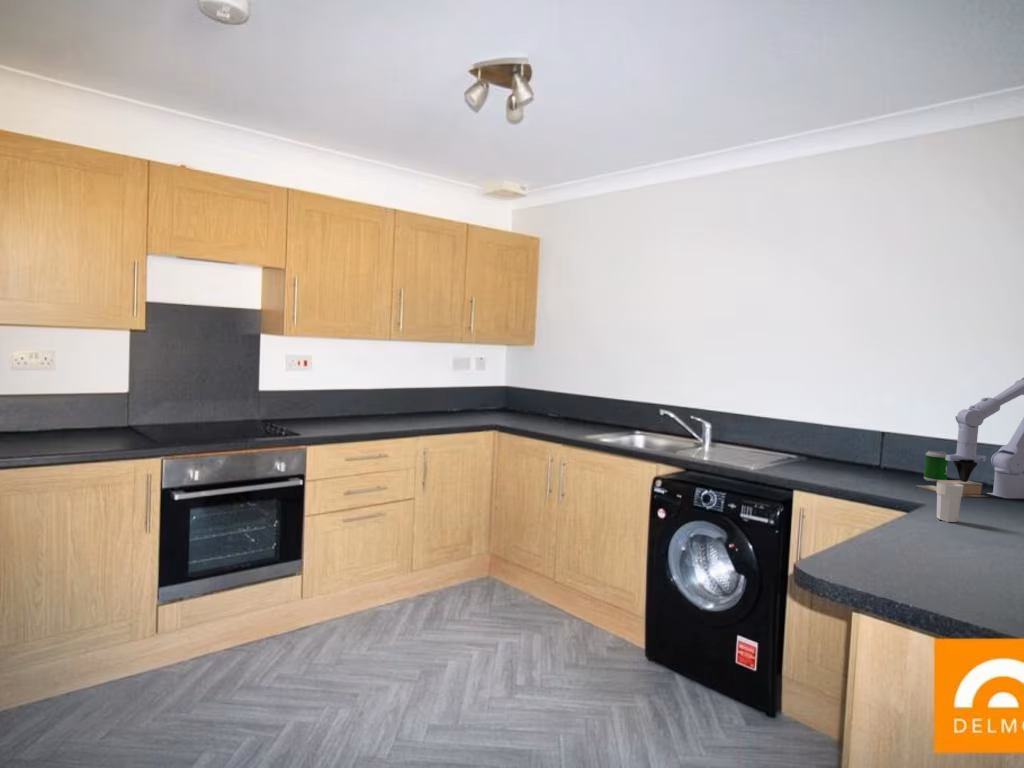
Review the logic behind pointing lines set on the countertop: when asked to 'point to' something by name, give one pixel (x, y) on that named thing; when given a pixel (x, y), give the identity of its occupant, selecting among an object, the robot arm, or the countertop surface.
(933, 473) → the soda can
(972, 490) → the parcel box
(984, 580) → the countertop surface
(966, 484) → the lid flap
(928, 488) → the board
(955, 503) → the cup
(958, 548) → the countertop surface
